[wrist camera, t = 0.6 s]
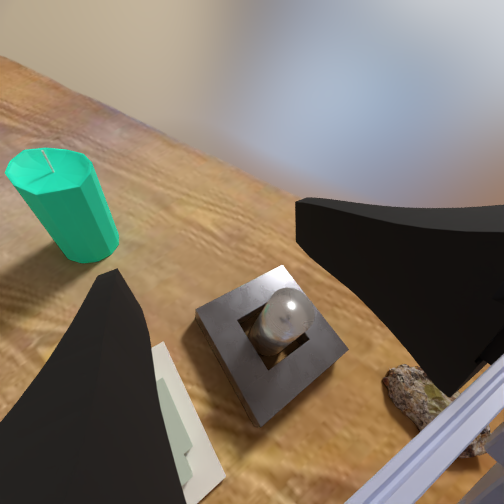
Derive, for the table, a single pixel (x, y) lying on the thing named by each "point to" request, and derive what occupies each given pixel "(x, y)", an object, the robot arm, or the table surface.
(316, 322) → the socket block
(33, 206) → the candle
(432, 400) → the mineral rock
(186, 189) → the table surface
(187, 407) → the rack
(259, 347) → the smooth metal cylinder
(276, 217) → the table surface
